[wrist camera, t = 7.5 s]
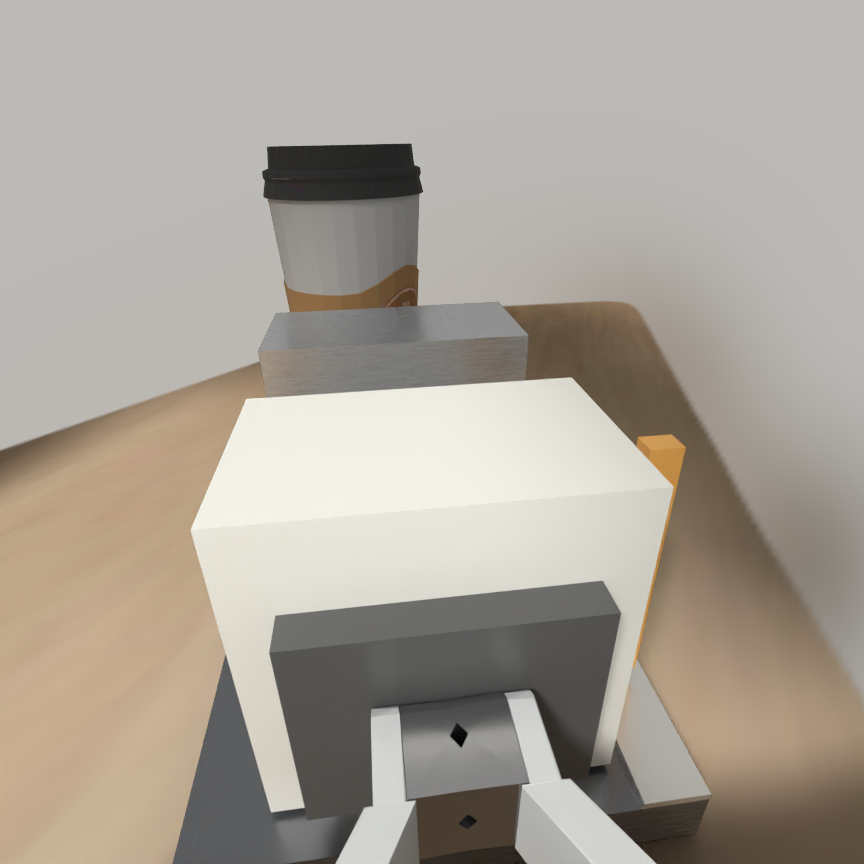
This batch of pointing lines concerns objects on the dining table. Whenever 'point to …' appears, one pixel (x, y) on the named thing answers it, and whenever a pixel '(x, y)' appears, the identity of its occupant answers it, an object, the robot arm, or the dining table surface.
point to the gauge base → (226, 732)
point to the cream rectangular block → (429, 568)
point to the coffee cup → (345, 224)
